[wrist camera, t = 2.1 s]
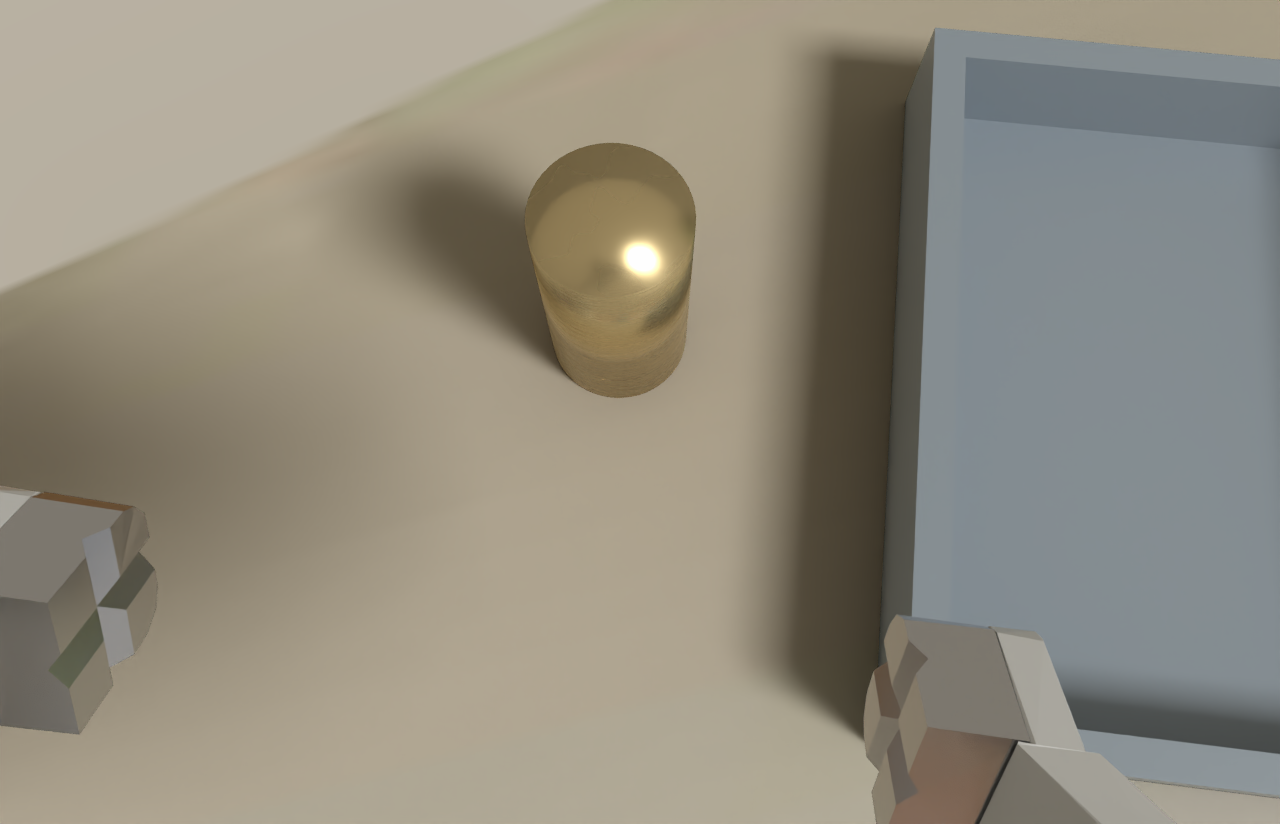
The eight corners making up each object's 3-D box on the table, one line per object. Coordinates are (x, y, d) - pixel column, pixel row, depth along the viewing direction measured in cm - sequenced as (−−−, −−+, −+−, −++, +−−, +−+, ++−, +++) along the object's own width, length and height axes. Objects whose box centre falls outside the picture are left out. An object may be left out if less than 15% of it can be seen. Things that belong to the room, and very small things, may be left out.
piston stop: (678, 404, 33) (686, 305, 26) (543, 389, 33) (511, 286, 26) (692, 281, 35) (704, 151, 27) (563, 267, 35) (538, 135, 27)
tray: (1438, 818, 29) (1556, 830, 25) (873, 747, 30) (906, 748, 26) (1366, 146, 36) (1451, 76, 32) (905, 102, 37) (934, 27, 33)
